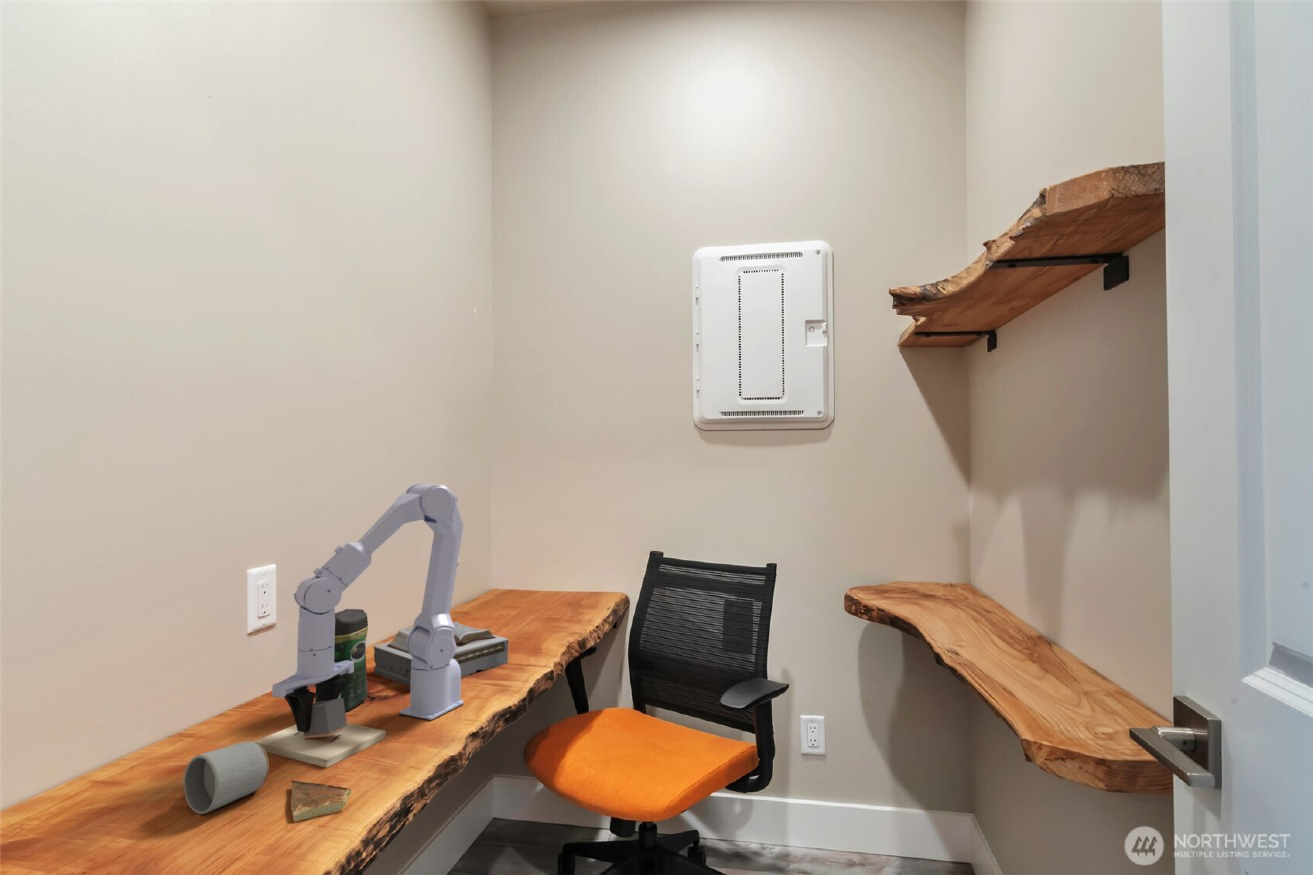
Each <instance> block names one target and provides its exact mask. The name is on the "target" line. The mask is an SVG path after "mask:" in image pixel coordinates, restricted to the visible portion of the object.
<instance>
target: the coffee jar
mask: <svg viewBox="0 0 1313 875" xmlns="http://www.w3.org/2000/svg"><path fill="white" fill-rule="evenodd" d="M368 621H369V620H368V614H367V613H366V611H364V609H361V608H360V609H359V608H358V609H357V608H345V609H343V610H340V611H338V612H335V648H334V663H338V662H342V661H346V660H348V661H354V672H352V673H349V674H348V673H345V674H343V675H340V678H345V679H346V685H345V686H344V688H343V689H342V691H341V693H340V695H339V697H338V699H342V698H343V700H344V707H345V712H348V711H349V710H352V709H353V708H355V707H356V706H358V705H360V704H362V703H364V701H366V699H367V698H368V678H367V677H368V675H367V653H366V650H367V648H366V647H367V645H366V644H367V643H366V642H367V635H368V629H369V622H368ZM315 693H316V696H315V698H314V703H316V702H318V697H317V691H316V690H315Z"/></svg>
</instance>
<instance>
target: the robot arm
mask: <svg viewBox="0 0 1313 875" xmlns="http://www.w3.org/2000/svg"><path fill="white" fill-rule="evenodd" d="M457 504H458V496H456V495H455V494H454V492H453V491H452V490H451V489H450V488H449V487H447V486H446V485H444V484H438V483H437V484H425V483H421V482H420V483H414V484H413V485H410V486H409V487H408V488H407V490H406V491H405V492H403V493H401V494H400V495H399V496H398V497H397V498H396V499H395V500H394V502H393V503H392V505H391V506H390V507H389V508H388V509H387V510H386V511H385V512H383V514H382V515H381V516H380V517H379V518H378V519H377V520H376V522H374V524H373V525H371V527H370V528H369V529H368V530H366V532H365V533H364V534H363V535H362V536H361V538H359V540H357V541H356V542H346V543H345V544H344V545H343V546H342V545H338V546H337V547H336V548H335V549H334V552H335V553H334V554H333V555H332V557H330V558H329V559H328V560H327V561H326V562H325V563H324V564H323V565H322V566H321V567H320V568H319V567H316V568H315V570H313V571H312V573H313V574H314V575H311V576H309V577H306V578H304V579H303V580H302V581H301V582H299V584H298V586H297V590H296V591H295V592H294V593H293V597H294V601H295V603H296V604H297V605H298V606H299V607H298V622H297V648H296V649H297V655H296V657H297V658H296V670H295V672H294V674H292V675H290V676H289V677H287V678H285V679H283V680H281V681H279V682H276V683H274V684H272V691H271V692H272V696H271V697H273V698H278V699H282V698H284V700H285V701H286V702H287V704H288V706H289V708H290V710H291V712H292V715H293V718H294V722H295V725H296V726H297V731H300V732H304V733H306V732H308V731H309V729H310V724H311V710H312V705H313V703H314V702H315V696H316V691H317V697H318V701H326V700H334V699H338V697H339V695H340V693H341V691H342V689H343V688H344V686H345V685H346V679H345V678H340V675H343V674H345V673H348V674H349V673H352V672H354V661H348V660H346V661H342V662H338V663H334V648H335V613H336V607H337V606H338V605H339V604H340V602H341V600H342V594H343V592H344V591H346V589H348V587H350V585H351V584H353V583H354V582H355V581H356V579H357V578H358V577H359V576H360V575H362V574H363V573H364V571H366V569H367V568H369V567H370V566H371V563H372V556H373V553H374V552H375V551H376V550H377V549H379V548H380V547H381V546H382V545H383V544H384V543H385V542H387V541H388V540H389V538H391V537H392V536H393V535H394V534H395V533H396V532H397V531H398V530H399V529H400V528H402V527H403V526H404V525H405V524H407V523H408V524H409V523H413V522H417V521H424V522H425V524H426V525H427V526H428V527H429V528H430V529H431V531H433V538H432V545H431V551H430V556H429V557H430V558H429V562H428V568H427V576H426V580H425V581H426V582H425V588H424V593H423V594H424V595H423V600H422V607H421V612H420V613H419V614H418V615H417V616H416V617H415V619H414V621H413V626H412V627H413V629H412V631H411V632H410V634H409V635H408V638H407V641H406V648H407V651H408V652H409V654H410V655H412V661H411V687H409V688H410V693H409V695H410V698H409V703H410V704H409V706H408V707H405V708H402V709H400V711H399V714H400V715H406V716H408V717H415V718H420V719H425V720H429V721H431V720H434V719H436V718H438V717H439V716H440V717H441V716H442V715H444V714H446V713H449V711H451V710H453V709H456V708H457V707H460V706H462V705H464V704H465V701H464V700H462V699H461V697H462V696H461V695H462V694H461V693H462V692H461V690H462V677H461V669H460V666H459V664H458V662H457V661H456V660H454V659H453V657H454V655H455V652H456V642H455V639H454V629H455V628H454V625H453V623H454V622H453V620H452V617H451V615H450V614H451V608H452V600H453V596H454V590H455V584H456V583H455V582H456V575H457V569H458V564H459V556H460V550H461V546H462V545H461V543H462V538H463V532H464V522H463V519H462V517H461V514H460V511H459V508H458V505H457ZM311 686H314V687H315V692H314V691H310V689H309V688H308V687H311Z"/></svg>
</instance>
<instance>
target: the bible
mask: <svg viewBox="0 0 1313 875" xmlns="http://www.w3.org/2000/svg"><path fill="white" fill-rule="evenodd" d="M453 625H454V628H455V629H454V639H455V642H456V652H455V655H454V657H453V659H454V660H456V661H457V662H458V664H459V666H460V669H461V678H465V677H467V676H470V675H471V674H475V673H476V672H477V671H478V670H479V671H480V670H481V671H485V670H486V671H487V670H490V669H493V668H496V667H500V666H502V664H503V665H506V664H508V663H509V658H508V656H509V653H508V652H509V638H507V637H503V636H499V635H496V634H493V632H492V631H491V630H490V629H487V628H486V629H483V628H475V627H470V626H466V625H463V624H462V623H459V622H458V621H456V622H455V621H454V622H453ZM412 629H413V626H411V627H407V628H404V629H400V630H398V632H397V633H396V635H395V637H394V638H393V639H392V640H391V641H388V642H385V643H381V644H377V645H374V646H373V650H374V651H373V652H374V654H373V658H374V663H375V666H374V667H373V672H374V674H376V675H377V676H380V677H383V678H386V679H388V680H391V681H394V682H396V683H398V684H402V685H404V684H405V686H408V687H409V688H411V661H412V655H410V654H409V652H408V651H407V648H406V641H407V638H408V635H409V634H410V632H411V631H412ZM499 665H500V666H499ZM492 667H493V668H492Z"/></svg>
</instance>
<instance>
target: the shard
mask: <svg viewBox="0 0 1313 875" xmlns="http://www.w3.org/2000/svg"><path fill="white" fill-rule="evenodd" d="M290 786H291V787H290V788H291V794H290V803H291V804H290V811H291V813H292V814H291V815H292V820H293V821H294V823H295V822H299V821H303V820H307V819H311V818H314V817H319V816H323V815H329V814H333V813H336V812H337V813H338V812H339V813H340V811H342V810H343V808H344V807H345V805H346V804H347V799H348V798H349V797H350V796H351V794H352V788H347V787H343V786H335V785H332V784H326V783H325V784H324V783H315V782H304V781H297V780H291V781H290Z"/></svg>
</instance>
